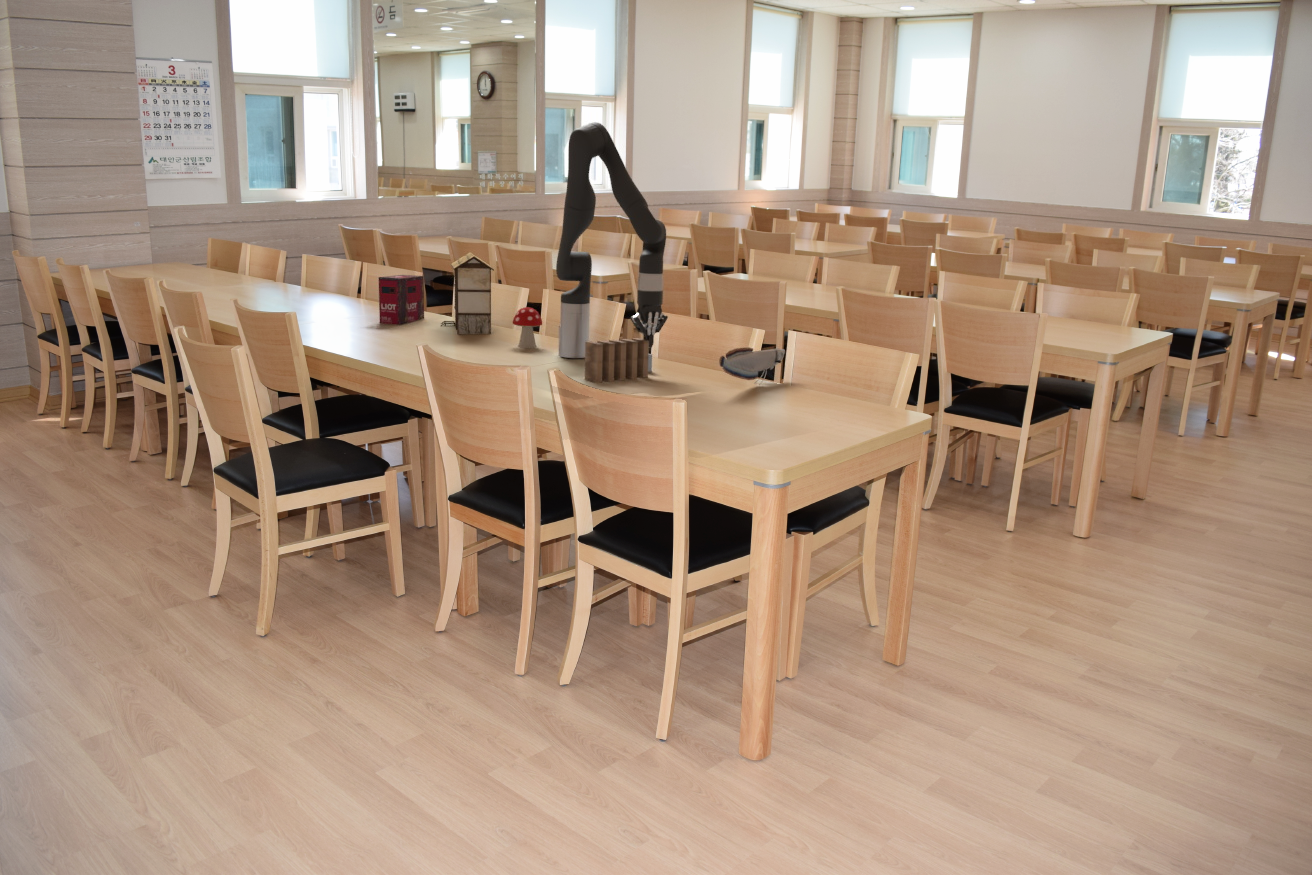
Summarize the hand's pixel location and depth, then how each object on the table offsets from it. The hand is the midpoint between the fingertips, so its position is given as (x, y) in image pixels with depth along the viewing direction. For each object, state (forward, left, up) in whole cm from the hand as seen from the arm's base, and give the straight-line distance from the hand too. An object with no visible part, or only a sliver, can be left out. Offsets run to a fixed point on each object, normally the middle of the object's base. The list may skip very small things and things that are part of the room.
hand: (648, 347), depth 299 cm
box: (-123, -21, -9) cm, 125 cm away
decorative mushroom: (-55, -8, -9) cm, 56 cm away
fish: (+29, +15, -9) cm, 34 cm away
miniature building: (-96, -9, -9) cm, 97 cm away
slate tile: (-2, +2, -6) cm, 6 cm away
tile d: (0, -16, -8) cm, 18 cm away
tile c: (0, -11, -8) cm, 14 cm away
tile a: (0, -3, -8) cm, 9 cm away
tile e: (0, -20, -8) cm, 22 cm away
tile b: (0, -7, -8) cm, 11 cm away
